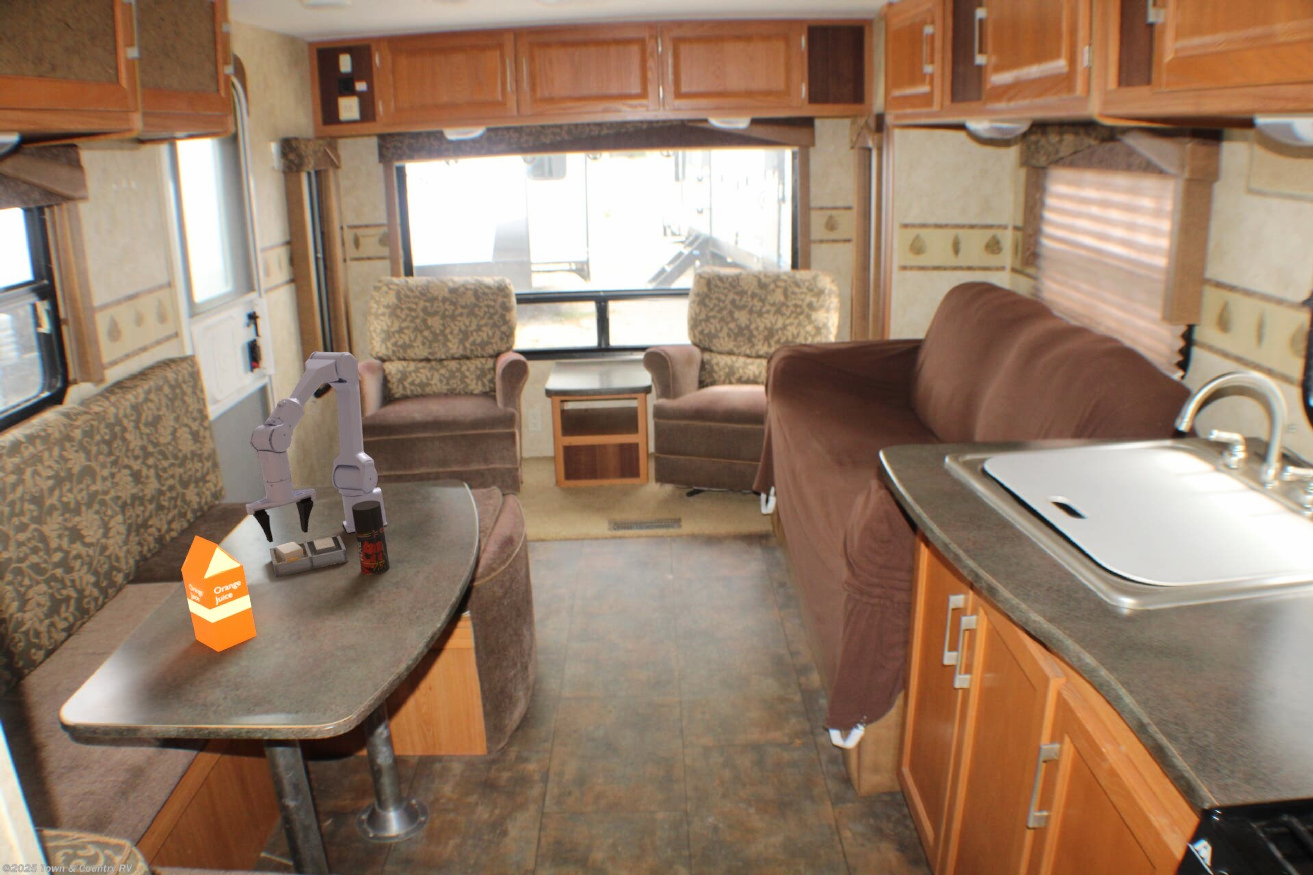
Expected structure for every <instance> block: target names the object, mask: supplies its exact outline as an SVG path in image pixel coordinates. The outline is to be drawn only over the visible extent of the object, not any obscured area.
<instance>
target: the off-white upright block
mask: <svg viewBox="0 0 1313 875" xmlns="http://www.w3.org/2000/svg"><path fill="white" fill-rule="evenodd" d="M275 548H276V551H277V556H278V561H279V562H280V563H282V562H286V561H287V559H291V558H295V557H298V558H299V559H301V558H304V555H303V549H302V548H301V547H300V546H299V545H297V544H296V542H295V541H290V542H287V543H283V544H279V545H276V546H275Z"/></svg>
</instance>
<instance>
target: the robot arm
mask: <svg viewBox="0 0 1313 875" xmlns="http://www.w3.org/2000/svg"><path fill="white" fill-rule="evenodd" d="M358 361H359V360H358V359H357V358H356V357H355V356H354V355H353V354H352V353H350V352H348V351H344V352H335V351H333V352H331V351H329V352H327V351H317V350H316V351H314V352H312V353H311V354H310V355H309V356H308V359H307V360H306V361H305V362H304V369H305V371H304V373H303V375H302V376H301V377H300V379H299V381H298V382H297V384H296V386H295V388H294V389H293V391H292V393H291V394H290V396H289V397H288V398H287V397H286V398H282V399H280V400H279V401H278V402H277V403H276V406H275V408H274V409H273V411H272V412H271V414H270V415H269V416H268V417H267V419H266V420H265V422H264V423H263V424H260V425H258V426H257V427H255V428H254V430H253V431H252V432H251V436H250V440H249V444H250V447H251V449H252V450H254V451H255V453H256V457H257V459H259V464H260V468H261V474H262V479H263V485H264V490H265V498H262V499H258V500H257V501H254V502H251V503H247V504H245V508H246V509H245V510H246V513H247V515H249V516H253V517H254V519H255V520H256V521H257V523H258V524H259V525H260V527H261V529H262V530H263V533H264V535H265V537H266V541H267V542H269V543H273V542H274V537H273V533H272V528H271V520H270V519H271V518H270V517H271V516H270V514H268V512H267V510H271V509H275V508H279V507H283V506H286V505H291V504H296V508H297V510H298V511H297V512H298V515H299V523H300V528H301V531H302V532H303V533H304V534H305V533H309V531H308V530H309V521H310V516H311V512H312V510H313V507H314V501H313V500H314V499H317V495H316V490H315V489H314V488H313V487H312V488H307V489H300V490H295V491H294V485H293V478H292V472H291V467H290V462H289V456H288V449H289V448H290V446H291V445H292V444H291V443H292V436H293V435H294V434H293V433H294V430H295V428H296V427H297V426H298V424H299V422H301V420H302V418H303V416H304V415H305V409H304V406H305V405H306V404H307V403H308V401H309V400H310V399H311V398H312V397H313V395H314V394H315V393H316V392H317V390H318V389H319V388H320V387H321V386H322V385H323V384H327V383H328V385H329V386H331V387H332V388H333V389H334V390H335V391H336V392H335V394H336V396H335V397H336V407H337V422H338V423H337V424H338V425H337V426H338V435H339V438H338V439H339V450H340V451H339V453H340V454H339V455H338V456H336V458H335V459H333V461H332V465H333V467H332V472H331V483H332V485H333V487H334V488H335V489H338V494H341V498H342V506H343V511H344V512H343V513H344V518H345V520H343V521H342V524H343V526H344V528H345V530H346V532H347V533H354V532H355V525H354V519H353V512H352V506H353V505H354V504H356V503H359V502H363V501H370V500H374V501H379V502H380V504H381V511H382V518H383V525H384V526H387V525H388V522H387V517H386V510H385V504H384V498H383V493H382V490H381V487H378V486H377V484H378V478H379V477H378V473H377V470H376V468H375V460H374V459H373V458H372V457H371V456H370V455H368V454H367V453H365V451H364V438H363V437H364V436H363V434H364V433H363V421H362V420H363V419H362V405H361V404H362V403H361V392H360V390H361V389H360V376H359V362H358ZM376 486H377V487H376ZM355 533H356V532H355Z"/></svg>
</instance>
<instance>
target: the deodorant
mask: <svg viewBox="0 0 1313 875" xmlns="http://www.w3.org/2000/svg"><path fill="white" fill-rule="evenodd" d="M352 512H353V519H354V525H355V536H356V545H357V549H358V556H359V562H360V569H361V573H362V574H363V575H365V574H367V575H366V576H373V575H374V576H375V575H380V574H383V573H385V572H387V571H388V570H389V569H390V560H389V555H388V554H389V553H388V547H387V546H388V545H387V540H386V534H385V525H383V518H382V511H381V504H380V502H379V501H374V500H370V501H363V502H359V503H356V504H354V505H353V506H352Z"/></svg>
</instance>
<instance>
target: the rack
mask: <svg viewBox="0 0 1313 875" xmlns="http://www.w3.org/2000/svg"><path fill="white" fill-rule="evenodd" d="M295 543H296V542H295ZM296 544H297V545H299V546H300V547H301V548H302V549H303V555H304V558H301V559H299V558H298V557H295V558H291V559H287V561H286V562H282V563H280V562H279V561H278V556H277V551H276V547H273V548H269V553H270V558H271V563H272V568H273V571H274V576H275V578H279V577H283V576H287V574H288V575H291V574H292V575H293V574H297V573H302V572H305V570H307V571H310V569H311V570H314V568H316V569H319V568H318V567H320V568H324V567H323V566H325V567H327V566H326V565H330V566H333V565H332V564H334V563H339V564H342V563H341V562H343V563H345V562H344V561H348V562H349V559H348V558H349V557H348V552H347V549H346V546H345V544H344V542H343V540H342V538H341V536H340V534H334V535H331V536H326V537H321V538H316V539H312V540H311V539H310V540H306V541H301V542H297V543H296ZM334 565H335V564H334Z"/></svg>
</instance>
